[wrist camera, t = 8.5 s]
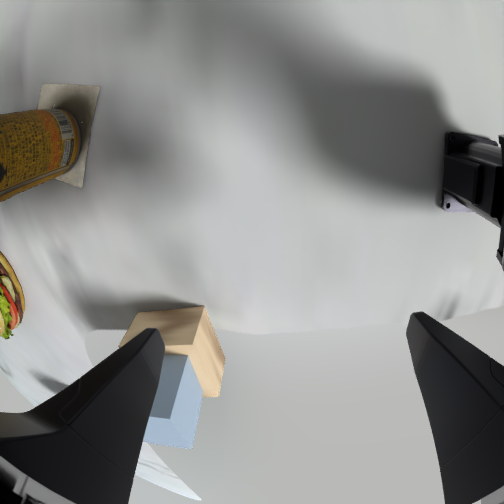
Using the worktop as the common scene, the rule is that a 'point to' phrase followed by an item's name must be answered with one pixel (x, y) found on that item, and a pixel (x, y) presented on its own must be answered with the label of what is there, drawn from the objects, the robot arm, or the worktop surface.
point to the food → (9, 299)
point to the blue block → (175, 404)
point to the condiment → (47, 139)
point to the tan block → (186, 341)
